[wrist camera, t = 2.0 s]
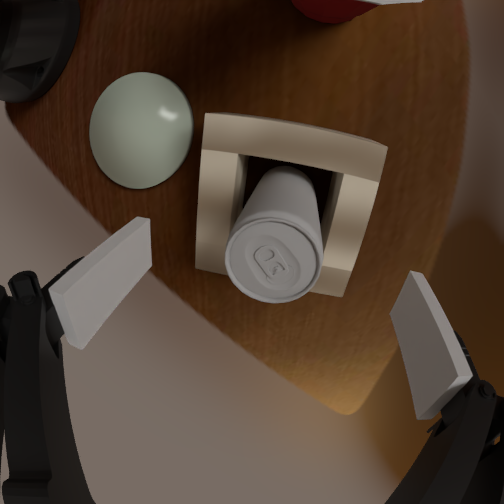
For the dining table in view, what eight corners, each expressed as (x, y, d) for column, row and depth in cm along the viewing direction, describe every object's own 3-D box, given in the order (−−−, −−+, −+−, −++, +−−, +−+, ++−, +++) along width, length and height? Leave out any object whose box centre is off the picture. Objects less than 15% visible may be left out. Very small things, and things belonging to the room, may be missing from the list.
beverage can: (277, 227, 25) (257, 317, 15) (247, 182, 24) (201, 246, 13) (324, 202, 23) (341, 282, 13) (295, 153, 22) (290, 195, 11)
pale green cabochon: (98, 78, 20) (92, 78, 19) (200, 71, 19) (196, 70, 18) (96, 180, 26) (90, 183, 25) (189, 192, 25) (185, 195, 24)
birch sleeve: (224, 112, 21) (205, 113, 17) (370, 139, 20) (387, 146, 16) (212, 240, 27) (195, 268, 22) (336, 265, 26) (342, 297, 22)
